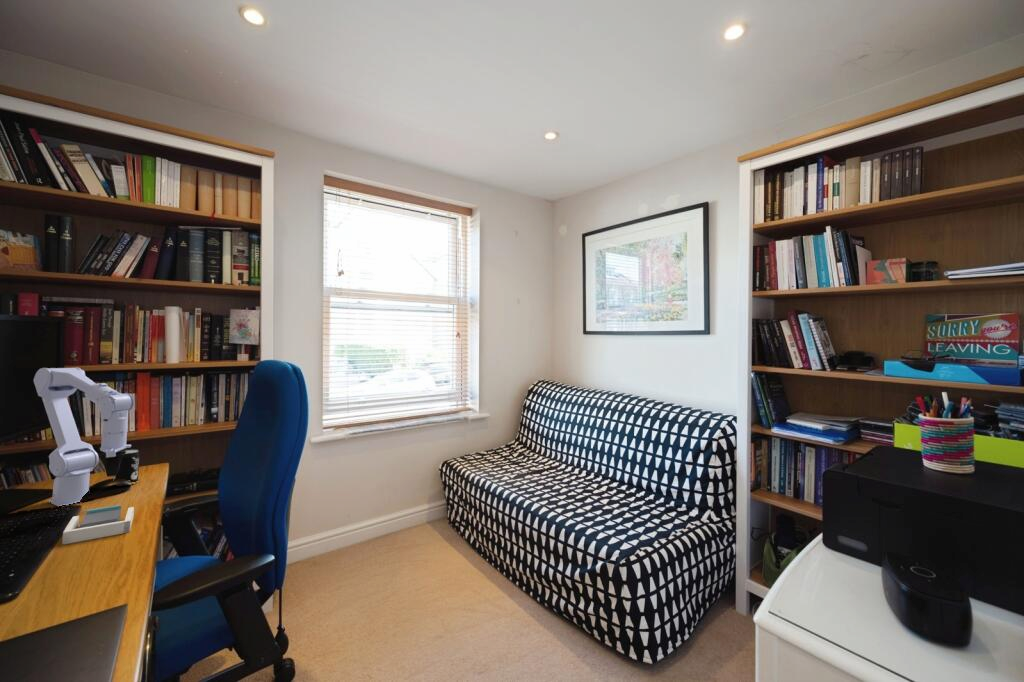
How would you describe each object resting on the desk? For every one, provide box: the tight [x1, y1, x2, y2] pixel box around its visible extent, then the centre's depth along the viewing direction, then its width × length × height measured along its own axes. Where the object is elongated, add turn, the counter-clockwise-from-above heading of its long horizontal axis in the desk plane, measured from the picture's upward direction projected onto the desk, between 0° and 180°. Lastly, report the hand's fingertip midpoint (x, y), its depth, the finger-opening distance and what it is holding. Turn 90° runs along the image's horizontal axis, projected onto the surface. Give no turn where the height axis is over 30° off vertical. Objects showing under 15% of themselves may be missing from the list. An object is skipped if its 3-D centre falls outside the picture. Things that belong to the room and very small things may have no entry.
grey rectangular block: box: [79, 504, 122, 528], centre depth 113 cm, size 10×7×4 cm
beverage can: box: [113, 449, 140, 483], centre depth 149 cm, size 7×7×12 cm
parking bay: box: [61, 506, 135, 546], centre depth 111 cm, size 13×12×3 cm
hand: (112, 475), depth 129 cm, fingers closed
